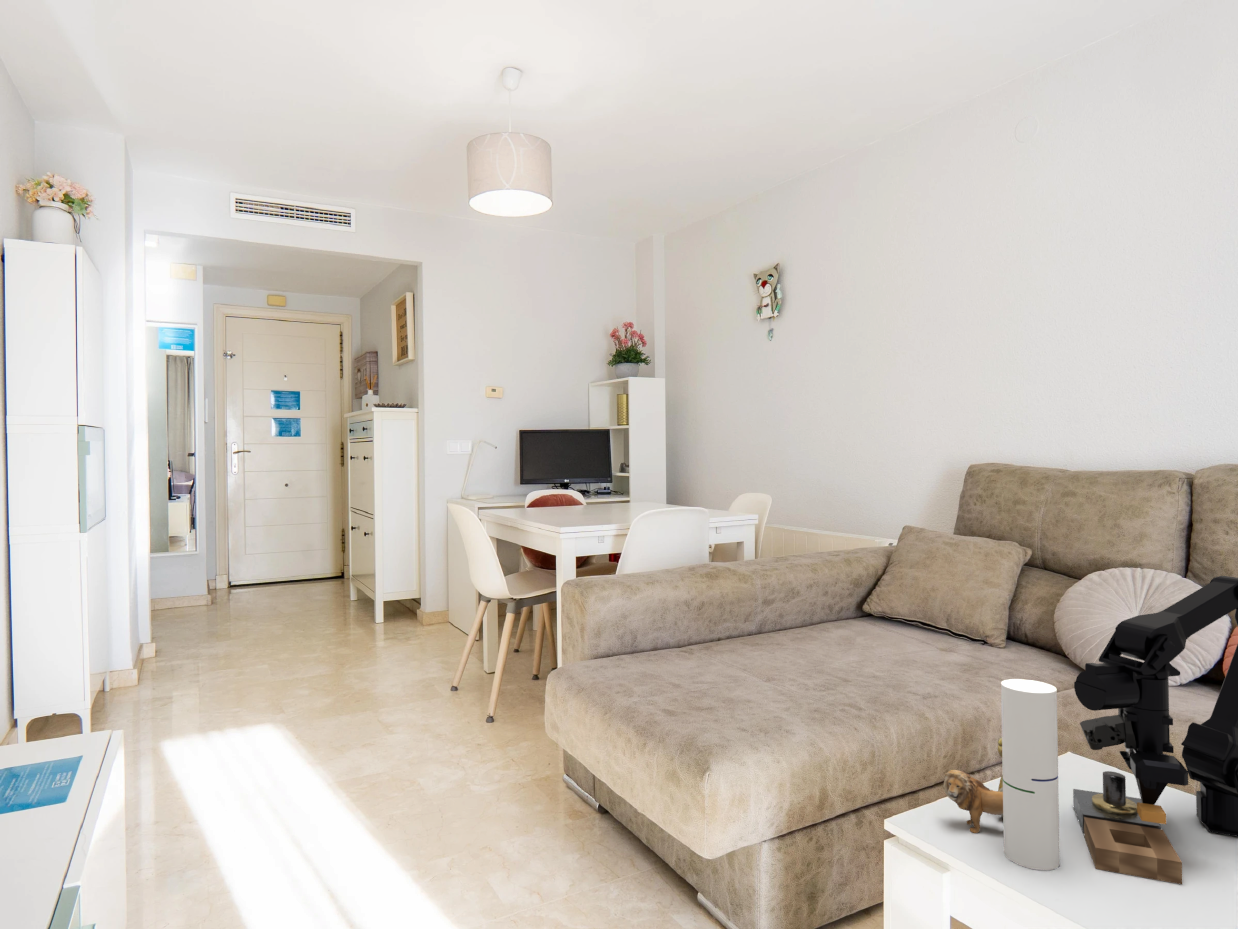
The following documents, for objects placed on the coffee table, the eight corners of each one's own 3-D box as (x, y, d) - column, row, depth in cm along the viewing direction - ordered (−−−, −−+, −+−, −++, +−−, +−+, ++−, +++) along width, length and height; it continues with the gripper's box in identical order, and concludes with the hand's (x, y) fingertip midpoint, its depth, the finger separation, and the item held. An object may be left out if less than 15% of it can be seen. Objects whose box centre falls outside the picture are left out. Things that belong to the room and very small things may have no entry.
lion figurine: (945, 833, 115) (944, 775, 115) (943, 818, 120) (942, 762, 120) (1052, 849, 109) (1051, 788, 109) (1045, 832, 114) (1044, 775, 114)
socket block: (1145, 817, 119) (1145, 799, 119) (1161, 846, 110) (1160, 826, 110) (1073, 806, 123) (1073, 788, 123) (1083, 833, 114) (1082, 814, 114)
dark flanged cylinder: (1133, 821, 118) (1132, 771, 118) (1142, 838, 112) (1141, 785, 112) (1089, 814, 120) (1088, 765, 120) (1096, 830, 115) (1095, 779, 115)
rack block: (1163, 849, 109) (1162, 829, 109) (1182, 884, 100) (1181, 862, 100) (1084, 836, 113) (1083, 817, 113) (1095, 868, 104) (1095, 847, 104)
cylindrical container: (1067, 872, 103) (1064, 694, 103) (1012, 867, 104) (1009, 691, 105) (1048, 847, 110) (1046, 680, 110) (997, 842, 111) (994, 678, 112)
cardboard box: (1161, 815, 111) (1160, 805, 111) (1166, 824, 108) (1166, 814, 108) (1137, 812, 112) (1136, 802, 112) (1141, 820, 109) (1141, 810, 109)
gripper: (1075, 683, 124) (1076, 775, 124) (1094, 717, 107) (1096, 824, 107) (1154, 690, 119) (1156, 786, 119) (1188, 727, 102) (1190, 839, 102)
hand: (1147, 807), depth 112 cm, fingers closed
